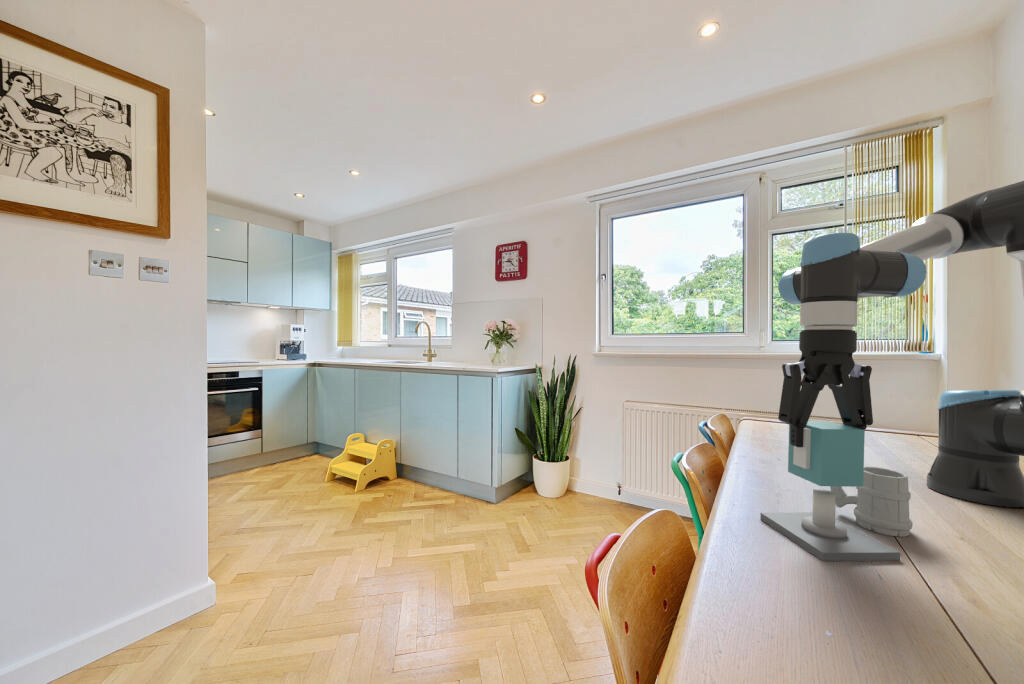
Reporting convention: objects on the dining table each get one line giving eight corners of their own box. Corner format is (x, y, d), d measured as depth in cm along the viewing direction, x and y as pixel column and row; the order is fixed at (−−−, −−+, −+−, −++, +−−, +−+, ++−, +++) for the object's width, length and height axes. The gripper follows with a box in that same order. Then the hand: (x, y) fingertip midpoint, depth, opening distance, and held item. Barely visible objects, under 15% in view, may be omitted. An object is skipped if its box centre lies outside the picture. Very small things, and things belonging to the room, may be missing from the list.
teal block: (826, 472, 70) (827, 420, 70) (863, 486, 63) (864, 429, 63) (788, 471, 70) (789, 420, 70) (820, 486, 63) (822, 429, 63)
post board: (823, 519, 74) (824, 477, 74) (900, 560, 60) (901, 509, 60) (760, 519, 74) (761, 477, 74) (823, 560, 60) (824, 509, 60)
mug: (901, 541, 66) (902, 469, 66) (819, 513, 76) (820, 451, 76) (920, 532, 69) (921, 463, 69) (839, 506, 80) (840, 446, 80)
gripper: (864, 331, 71) (860, 460, 71) (754, 328, 70) (751, 459, 70) (907, 329, 63) (904, 474, 63) (785, 326, 63) (782, 473, 63)
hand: (823, 466), depth 67 cm, fingers closed on teal block, 7 cm apart
